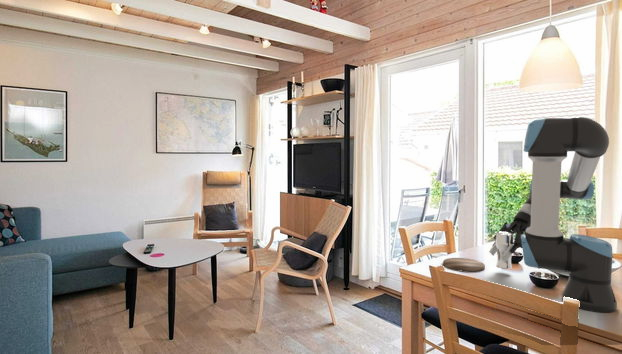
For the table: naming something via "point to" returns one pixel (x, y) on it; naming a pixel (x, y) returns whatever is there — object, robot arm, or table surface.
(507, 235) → the beer glass
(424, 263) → the table surface
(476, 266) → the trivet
